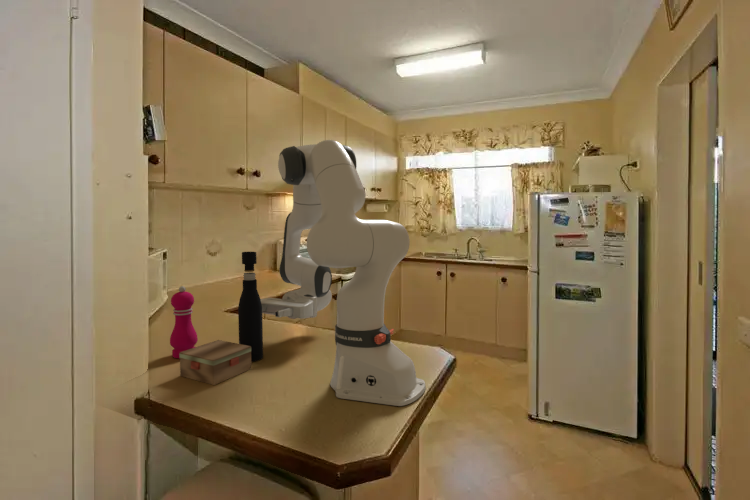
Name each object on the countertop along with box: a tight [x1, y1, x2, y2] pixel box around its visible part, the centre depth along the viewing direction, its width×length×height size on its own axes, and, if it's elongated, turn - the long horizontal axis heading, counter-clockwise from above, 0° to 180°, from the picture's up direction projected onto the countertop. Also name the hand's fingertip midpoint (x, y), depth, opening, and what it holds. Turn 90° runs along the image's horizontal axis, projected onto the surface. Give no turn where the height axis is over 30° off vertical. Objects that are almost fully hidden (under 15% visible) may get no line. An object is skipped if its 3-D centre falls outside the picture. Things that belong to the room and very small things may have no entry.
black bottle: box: [237, 251, 264, 363], centre depth 114 cm, size 6×6×30 cm
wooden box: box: [178, 339, 252, 386], centre depth 104 cm, size 13×13×6 cm
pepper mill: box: [169, 285, 198, 360], centre depth 117 cm, size 7×7×20 cm
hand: (264, 312), depth 119 cm, fingers open, 8 cm apart
